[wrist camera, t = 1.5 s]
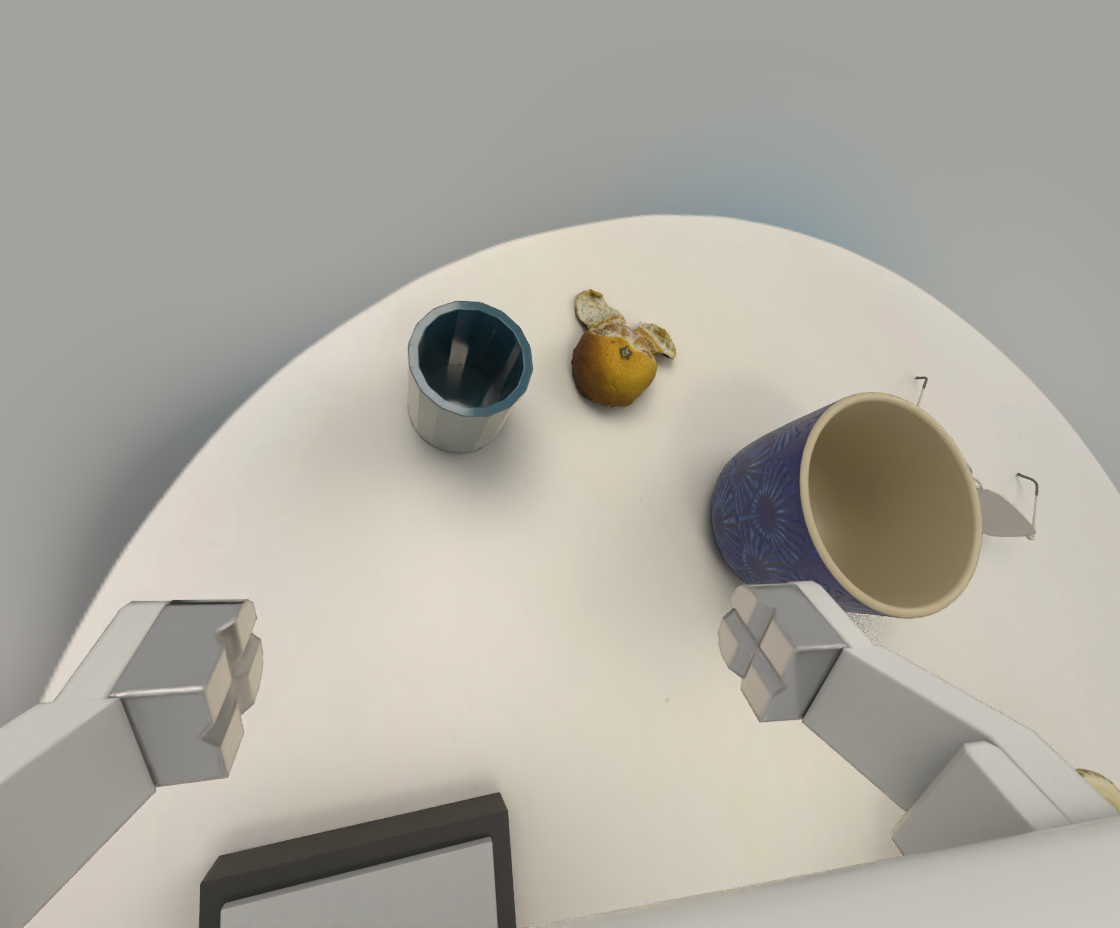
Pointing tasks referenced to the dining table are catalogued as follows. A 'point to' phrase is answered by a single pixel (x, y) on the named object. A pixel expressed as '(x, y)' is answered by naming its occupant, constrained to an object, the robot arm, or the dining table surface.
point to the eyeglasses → (1000, 509)
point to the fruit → (615, 353)
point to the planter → (854, 508)
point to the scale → (374, 875)
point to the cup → (465, 374)
